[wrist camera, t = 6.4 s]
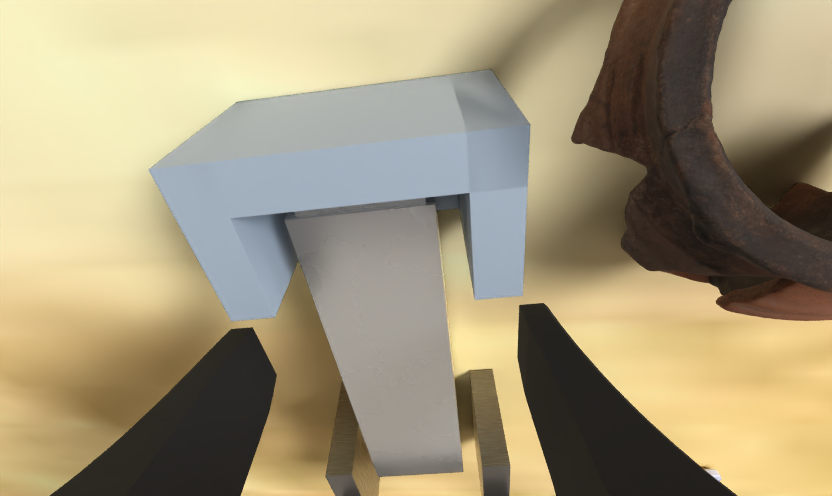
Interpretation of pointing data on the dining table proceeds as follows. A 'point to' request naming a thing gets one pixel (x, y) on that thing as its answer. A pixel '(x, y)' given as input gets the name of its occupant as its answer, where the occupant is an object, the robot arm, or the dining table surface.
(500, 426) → the sleeve
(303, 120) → the socket
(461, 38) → the dining table surface
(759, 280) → the pottery mug
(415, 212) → the bar
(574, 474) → the robot arm
